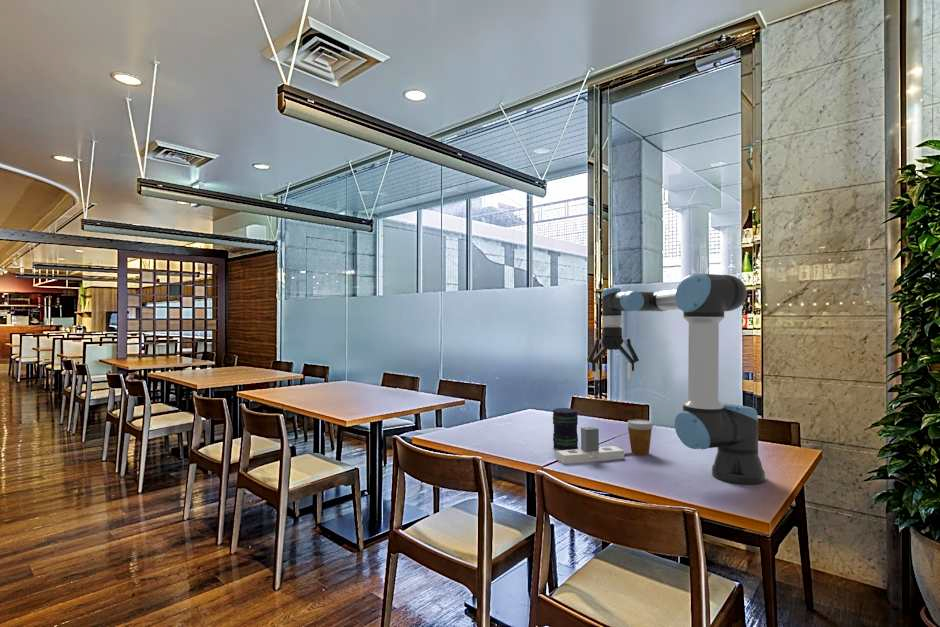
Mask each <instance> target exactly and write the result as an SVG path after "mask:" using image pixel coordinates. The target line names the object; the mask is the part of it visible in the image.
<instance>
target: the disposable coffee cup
mask: <svg viewBox="0 0 940 627" xmlns="http://www.w3.org/2000/svg"><path fill="white" fill-rule="evenodd" d="M626 426H627V429H628V436H629V437H628V438H629V443H630V444H629V445H630V450H631V452H630V453H634V455H636V456H649V455H650V449H651V448H650V447H651V438H652V429H653V428H654V425H653V422H652V421H650V420H646V419H629V420H627V423H626Z"/></svg>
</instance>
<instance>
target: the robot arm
mask: <svg viewBox="0 0 940 627" xmlns="http://www.w3.org/2000/svg"><path fill="white" fill-rule="evenodd" d="M601 293H602V295H601V310H602V326H603V327H602V339H599V338H594V344H593V346H592V348H591V349H590V350H591V351H590V353H589V355H587V356H588V357H587V359H586V362H588V363H590V364H591V371H592V372H594V373H593V377H594V380H595V381H599V375H598V374H599V368H598V363H597V362H598V360H599V359H600V358H601V357H602V356H603V355H604V353H605V352H606V351H608V350H609V351H612V350H615V351H619V352H620V353H621V354H622V355H623V356H624V357H625V358H626V359H627V361H628V362H627V380H630V381H631V380H633V372H635V363H637V362H639V361H640V360H639V357H638V355H637V354H636V352H635V349H634V347H633V346H632V344H631V338H623V328H622V326H623V317H622V316H623V314H622V313H623V312H666V311H674V310H675V311H676V310H680V311H681V312H683V319H684V320H686V321H687V324H688V359H687V360H688V361H687V362H688V363H687V364H688V370H687V371H688V374H687V375H688V380H687V382H688V386H687V387H688V388H687V392H688V394H687V395H688V396H687V399H686V400H684V402H682V411H680V412H679V413H677V414H676V416H675V419H674V429H675V434H676V436H677V437H678V439H679V440H680V442H681V443H682V444H683V446H686V447H687V448H689V449H693V450H706V449H713V448H717V451H716V454H715V458H714V462H713V465H712V466H711V475H712V476H713V478H716V479H718V480H721V481H724V482H727V483H728V482H729V483H733V484H740V485H742V484H743V485H757V484H758V485H759V484H762V483H765V481H766V471H765V470H764V469H763V468H764V467H763V465H762V460H761V459H760V456H759V419H758V417H759V416H758V411H757V409H755V408H754V407H750V406H748V405H747V406H745V405H740V404H733V403H725V402H724V403H723V402H720V400H719V369H720V368H719V367H720V366H719V361H720V359H719V358H720V357H719V356H720V355H719V348H720V347H719V344H720V343H719V341H720V340H719V338H720V337H719V334H720V332H719V330H720V328H719V327H720V322H721V321H722V320H723V319H725V312H732V311H735V310H738V309H739V308H740V307H741V306H743V305H744V303H745V301H746V299H747V294H748V291H747V287H746V284H745V283H744V282H743V281H742V280H741V278H738V277H736V276H735V275H731V274H714V273H713V274H712V273H711V274H710V273H696V274H693V273H692V274H689V275H686V276H685V277H684V278H682V279H681V281H680V282H679V283H678V285H677V286H676V288H675V289H668V290H660V291H637V290H636V291H635V290H627V291H622V288H620V287H607V288H603V289H602V292H601ZM601 343H602V345H603V346H602V347H601V349H600V350H599V351H598V352H597V350H598V348H599V346H600V345H601ZM623 343H624V345H626V347H627V350H628V351H629V353H628V352H627V351H626V350H625V349H624V347H623V345H622V344H623ZM596 352H597V353H596Z"/></svg>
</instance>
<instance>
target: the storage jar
mask: <svg viewBox="0 0 940 627" xmlns="http://www.w3.org/2000/svg"><path fill="white" fill-rule="evenodd" d="M578 421H579V420H578V409H576V408H575V409H574V408H569V407H568V408H567V407H559V408H558V407H557V408H553V409H552V424H553V434H552V436H553V437H552V441H553V442H552V444H553V447H552V448H553V449H555V450H556V451H560V450H572V449H579V448H578V447H579V446H578V444H579V438H578V437H579V436H578V424H579V423H578Z"/></svg>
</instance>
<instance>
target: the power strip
mask: <svg viewBox="0 0 940 627" xmlns="http://www.w3.org/2000/svg"><path fill="white" fill-rule="evenodd" d="M634 455H635V454H634V453H632V452H625V450H624V449H622V448H620V447H617V446H615V445H610V446H601V447H599V451H592V456H590V453H588V452H586V451H584V450H582V449H581V448H578V449H572V450H555V460H557V461H558V462H560V463H562V464H563V465H571V464H581V463H590V462H591V463H592V462H601V461H602V462H604V461H611V460H612V461H615V460H623V459H625V456H634Z"/></svg>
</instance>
